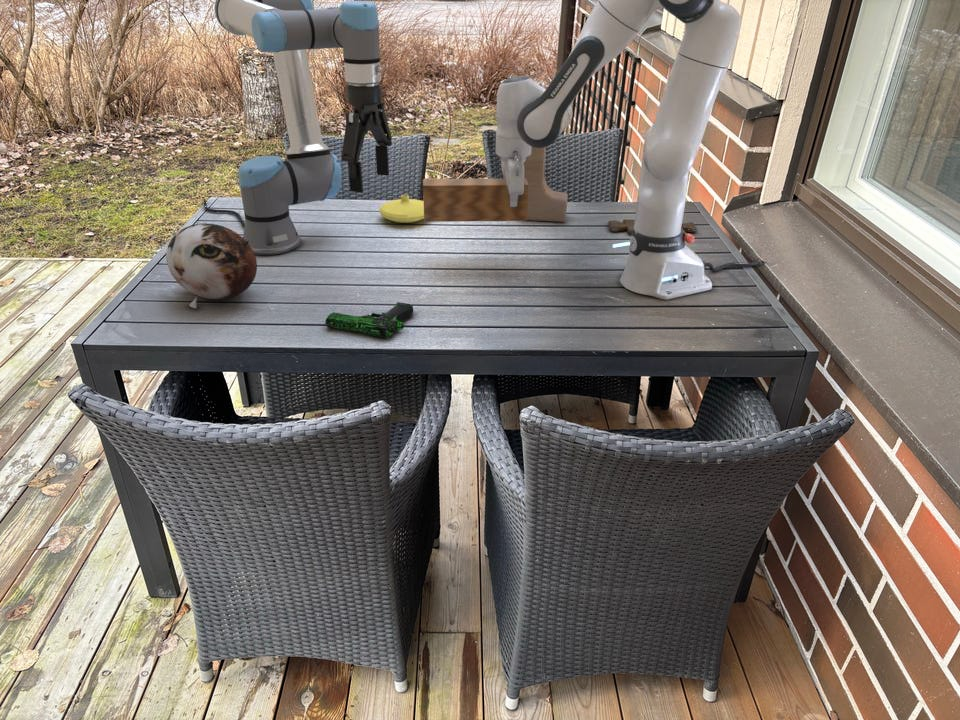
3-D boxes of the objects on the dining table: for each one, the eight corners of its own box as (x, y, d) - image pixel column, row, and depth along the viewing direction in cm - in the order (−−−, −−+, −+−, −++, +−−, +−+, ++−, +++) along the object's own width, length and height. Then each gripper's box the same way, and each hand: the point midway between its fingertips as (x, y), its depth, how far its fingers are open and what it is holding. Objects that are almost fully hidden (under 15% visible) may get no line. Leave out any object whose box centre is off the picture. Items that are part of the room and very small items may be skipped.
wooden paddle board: (699, 237, 207) (691, 225, 216) (700, 231, 206) (692, 220, 215) (610, 234, 207) (606, 222, 216) (611, 228, 207) (607, 217, 215)
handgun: (421, 304, 161) (388, 331, 148) (421, 316, 162) (389, 343, 150) (358, 292, 166) (322, 317, 154) (359, 304, 167) (323, 330, 155)
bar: (424, 221, 181) (423, 185, 176) (424, 214, 186) (423, 178, 181) (526, 220, 182) (528, 184, 178) (524, 213, 187) (526, 178, 182)
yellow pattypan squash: (403, 206, 226) (402, 184, 222) (442, 217, 218) (442, 194, 215) (368, 220, 215) (367, 197, 211) (408, 231, 207) (407, 208, 203)
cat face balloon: (130, 285, 161) (164, 203, 163) (192, 308, 177) (221, 233, 178) (195, 307, 151) (229, 220, 152) (254, 330, 166) (285, 250, 168)
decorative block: (565, 222, 215) (573, 120, 200) (515, 219, 217) (520, 117, 202) (566, 214, 222) (574, 114, 206) (518, 211, 223) (522, 112, 208)
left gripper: (352, 95, 139) (360, 201, 150) (403, 75, 160) (407, 169, 171) (318, 92, 141) (328, 197, 152) (373, 73, 162) (378, 166, 173)
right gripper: (531, 157, 167) (528, 214, 174) (521, 136, 184) (519, 189, 191) (504, 158, 166) (503, 215, 173) (497, 136, 184) (496, 189, 191)
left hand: (370, 182), depth 161 cm, fingers open, 13 cm apart
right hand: (511, 201), depth 183 cm, fingers closed on bar, 5 cm apart
